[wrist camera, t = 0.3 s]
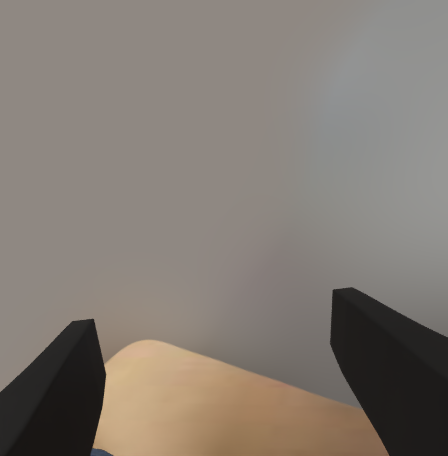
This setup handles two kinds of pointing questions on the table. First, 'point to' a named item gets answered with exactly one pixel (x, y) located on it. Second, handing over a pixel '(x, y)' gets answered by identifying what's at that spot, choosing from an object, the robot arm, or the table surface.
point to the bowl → (99, 452)
